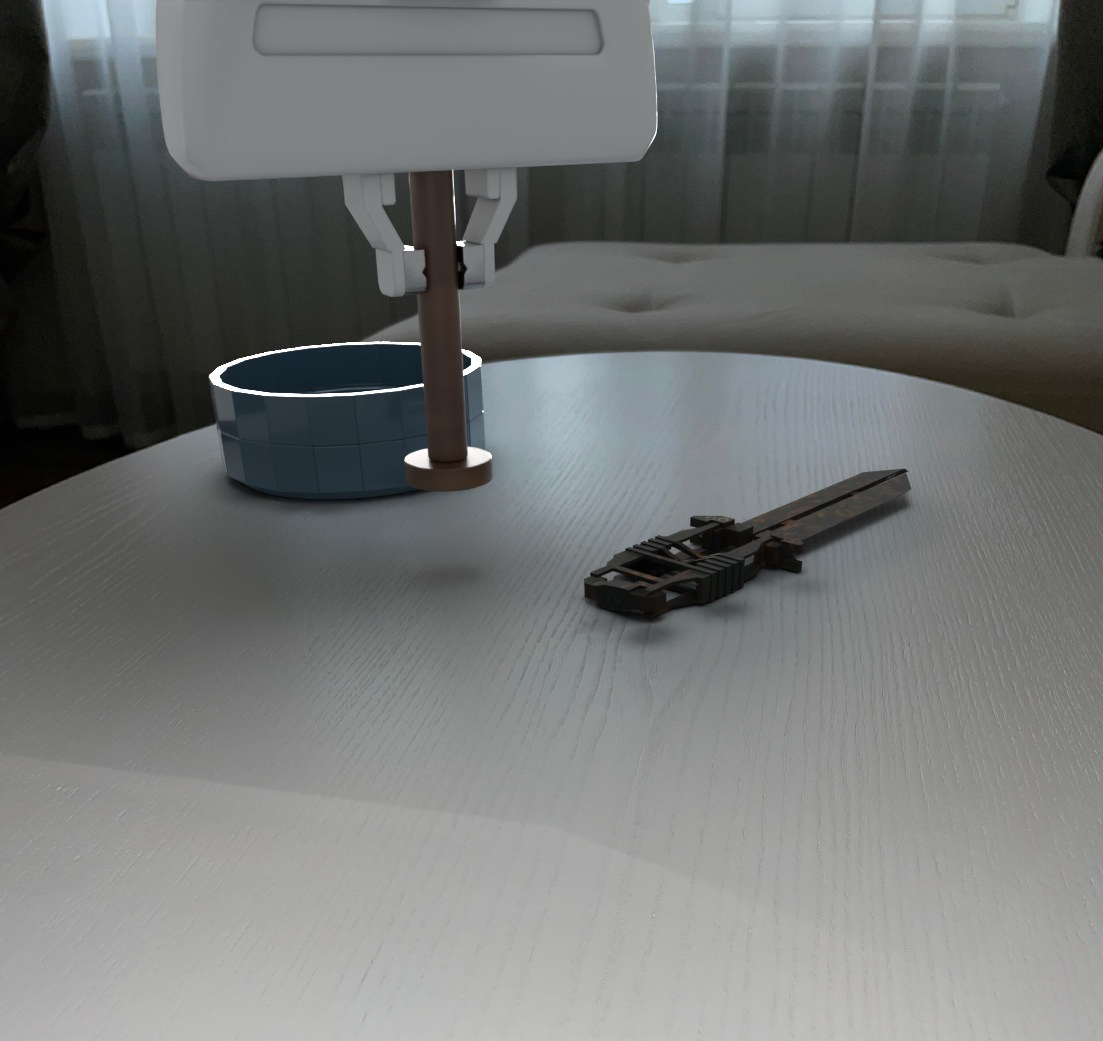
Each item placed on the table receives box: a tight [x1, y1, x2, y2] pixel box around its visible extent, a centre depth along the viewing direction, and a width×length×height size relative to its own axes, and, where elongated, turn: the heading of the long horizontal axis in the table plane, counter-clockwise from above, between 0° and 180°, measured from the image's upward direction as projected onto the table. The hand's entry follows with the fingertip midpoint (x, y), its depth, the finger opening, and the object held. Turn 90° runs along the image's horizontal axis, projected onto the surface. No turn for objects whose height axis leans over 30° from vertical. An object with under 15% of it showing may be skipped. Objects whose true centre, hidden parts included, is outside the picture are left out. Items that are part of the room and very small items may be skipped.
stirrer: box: [404, 170, 494, 492], centre depth 49 cm, size 4×4×16 cm
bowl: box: [208, 341, 487, 500], centre depth 71 cm, size 16×16×6 cm
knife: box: [583, 468, 912, 619], centre depth 57 cm, size 25×6×1 cm, turn 130°
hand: (437, 291), depth 49 cm, fingers closed on stirrer, 2 cm apart
